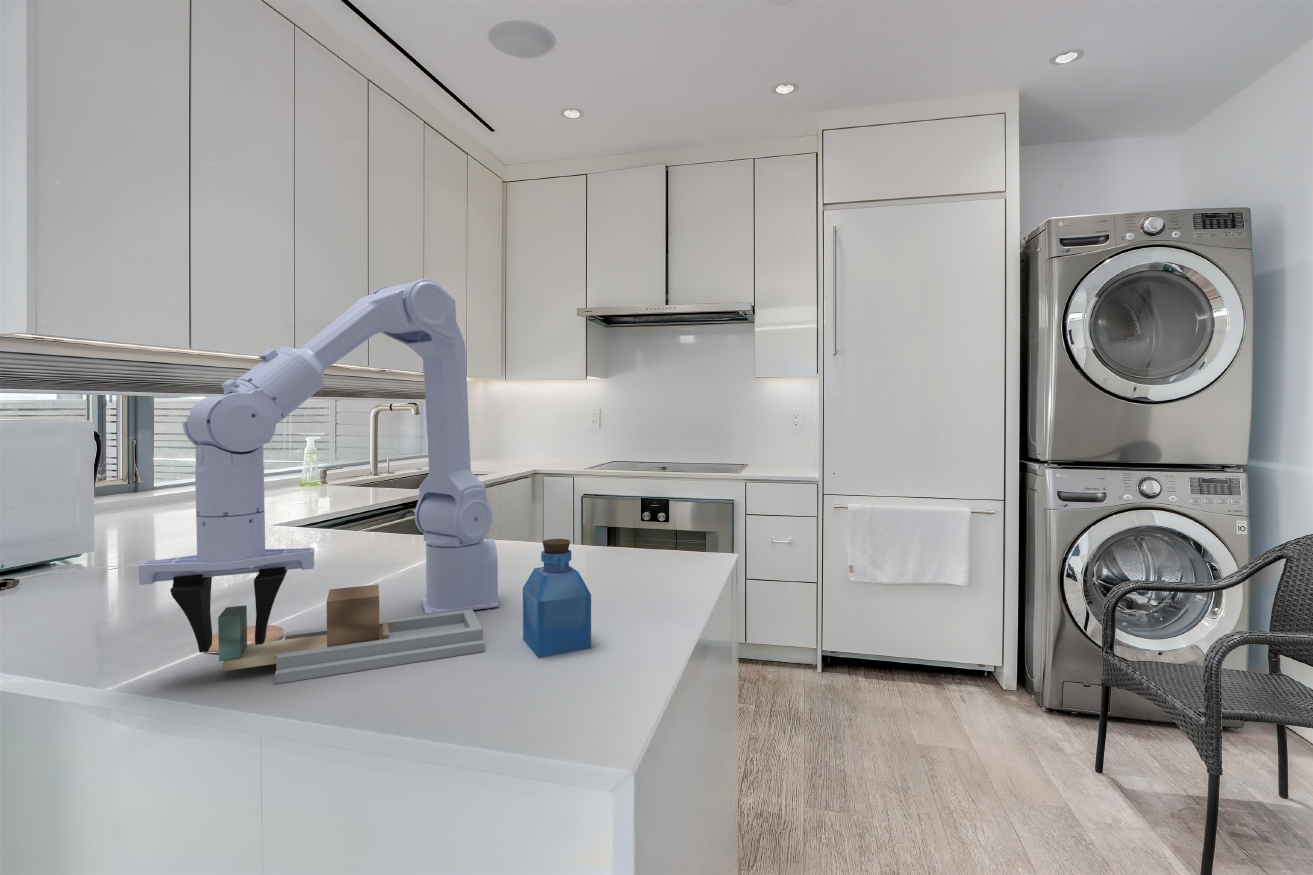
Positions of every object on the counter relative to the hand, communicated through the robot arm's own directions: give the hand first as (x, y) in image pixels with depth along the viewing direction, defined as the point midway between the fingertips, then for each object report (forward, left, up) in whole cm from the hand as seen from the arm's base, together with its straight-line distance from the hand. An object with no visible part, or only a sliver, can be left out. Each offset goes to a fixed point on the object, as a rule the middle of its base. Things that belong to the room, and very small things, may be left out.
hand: (233, 644), depth 62 cm
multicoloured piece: (-7, 0, -2) cm, 7 cm away
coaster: (+1, -10, -3) cm, 10 cm away
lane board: (-14, 0, -3) cm, 14 cm away
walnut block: (-11, 0, -1) cm, 11 cm away
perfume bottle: (-32, +6, -3) cm, 33 cm away
